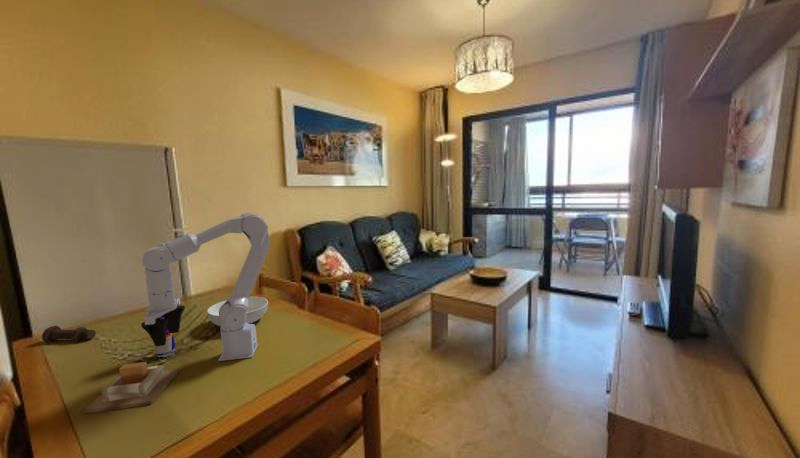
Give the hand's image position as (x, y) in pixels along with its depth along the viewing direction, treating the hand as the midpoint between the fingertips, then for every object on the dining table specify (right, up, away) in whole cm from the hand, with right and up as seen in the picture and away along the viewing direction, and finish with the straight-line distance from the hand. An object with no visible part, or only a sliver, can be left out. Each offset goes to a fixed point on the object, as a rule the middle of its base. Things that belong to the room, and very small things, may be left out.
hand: (167, 338), depth 89 cm
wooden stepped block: (-3, -10, -6) cm, 13 cm away
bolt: (-51, -9, +24) cm, 57 cm away
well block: (-4, -11, -6) cm, 13 cm away
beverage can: (-9, -9, +12) cm, 18 cm away
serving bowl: (+3, -6, +35) cm, 36 cm away
